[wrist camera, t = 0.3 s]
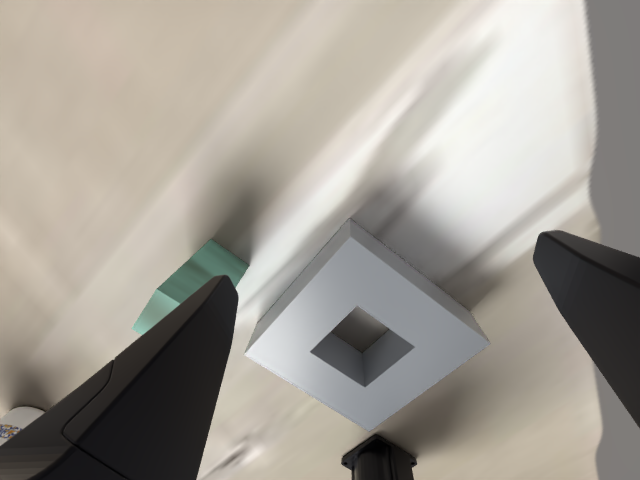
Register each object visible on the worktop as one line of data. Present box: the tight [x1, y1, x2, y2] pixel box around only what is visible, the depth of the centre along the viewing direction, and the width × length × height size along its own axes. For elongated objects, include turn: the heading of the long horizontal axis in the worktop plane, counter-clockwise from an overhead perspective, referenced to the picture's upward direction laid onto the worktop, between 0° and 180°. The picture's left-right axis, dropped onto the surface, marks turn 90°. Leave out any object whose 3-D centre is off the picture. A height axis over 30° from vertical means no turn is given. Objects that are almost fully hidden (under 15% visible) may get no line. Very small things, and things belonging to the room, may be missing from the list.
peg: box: [132, 239, 249, 335], centre depth 23 cm, size 4×4×8 cm
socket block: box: [244, 218, 491, 431], centre depth 25 cm, size 14×14×4 cm
